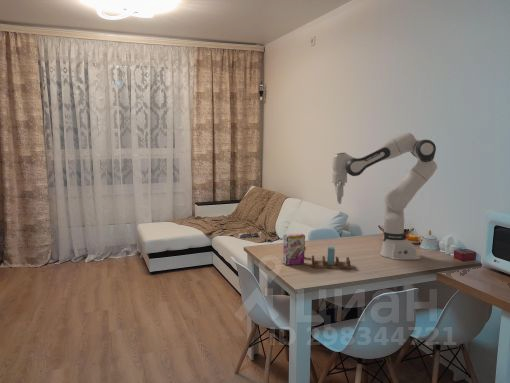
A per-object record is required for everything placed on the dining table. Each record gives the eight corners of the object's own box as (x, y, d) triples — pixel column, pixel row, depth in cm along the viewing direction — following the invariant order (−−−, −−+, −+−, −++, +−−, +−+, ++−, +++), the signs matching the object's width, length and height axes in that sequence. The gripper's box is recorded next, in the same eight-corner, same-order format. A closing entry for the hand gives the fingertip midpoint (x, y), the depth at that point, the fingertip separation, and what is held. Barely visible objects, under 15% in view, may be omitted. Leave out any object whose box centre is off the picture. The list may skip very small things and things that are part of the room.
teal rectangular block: (333, 262, 225) (334, 246, 224) (334, 265, 221) (334, 248, 220) (327, 262, 226) (327, 246, 225) (327, 264, 222) (328, 248, 221)
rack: (348, 264, 228) (348, 256, 227) (350, 269, 218) (350, 262, 217) (311, 262, 230) (312, 255, 229) (311, 267, 220) (312, 260, 220)
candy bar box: (286, 266, 223) (287, 236, 221) (282, 263, 228) (283, 234, 225) (304, 263, 227) (305, 234, 225) (300, 261, 232) (301, 232, 230)
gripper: (346, 181, 237) (345, 204, 239) (343, 178, 257) (343, 200, 259) (334, 181, 238) (334, 204, 240) (333, 178, 258) (333, 200, 260)
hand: (339, 202), depth 249 cm, fingers open, 8 cm apart
